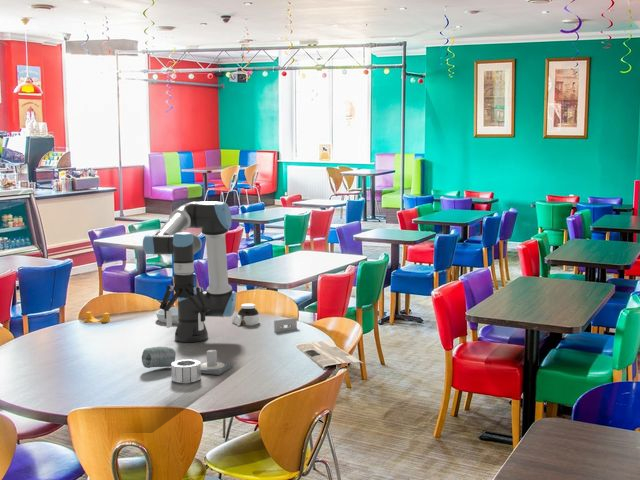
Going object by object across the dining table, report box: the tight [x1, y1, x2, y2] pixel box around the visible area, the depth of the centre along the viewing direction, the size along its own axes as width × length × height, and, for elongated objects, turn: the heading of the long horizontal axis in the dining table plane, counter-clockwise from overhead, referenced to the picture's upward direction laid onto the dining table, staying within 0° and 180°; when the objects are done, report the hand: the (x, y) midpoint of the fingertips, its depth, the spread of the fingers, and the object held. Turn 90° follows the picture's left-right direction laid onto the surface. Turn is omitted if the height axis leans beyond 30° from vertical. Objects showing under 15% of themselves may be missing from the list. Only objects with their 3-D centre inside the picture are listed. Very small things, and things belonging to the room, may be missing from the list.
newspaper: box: [294, 340, 365, 370], centre depth 324 cm, size 37×19×3 cm, turn 20°
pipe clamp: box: [83, 311, 111, 323], centre depth 384 cm, size 12×4×6 cm, turn 74°
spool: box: [141, 346, 176, 369], centre depth 306 cm, size 14×10×10 cm
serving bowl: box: [155, 306, 178, 325], centre depth 387 cm, size 21×21×7 cm
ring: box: [171, 358, 202, 384], centre depth 293 cm, size 11×11×6 cm
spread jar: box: [231, 302, 260, 327], centre depth 377 cm, size 12×11×12 cm
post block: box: [200, 349, 233, 376], centre depth 305 cm, size 12×12×8 cm
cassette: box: [273, 317, 298, 333], centre depth 363 cm, size 12×2×8 cm, turn 122°
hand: (185, 328), depth 291 cm, fingers open, 13 cm apart
